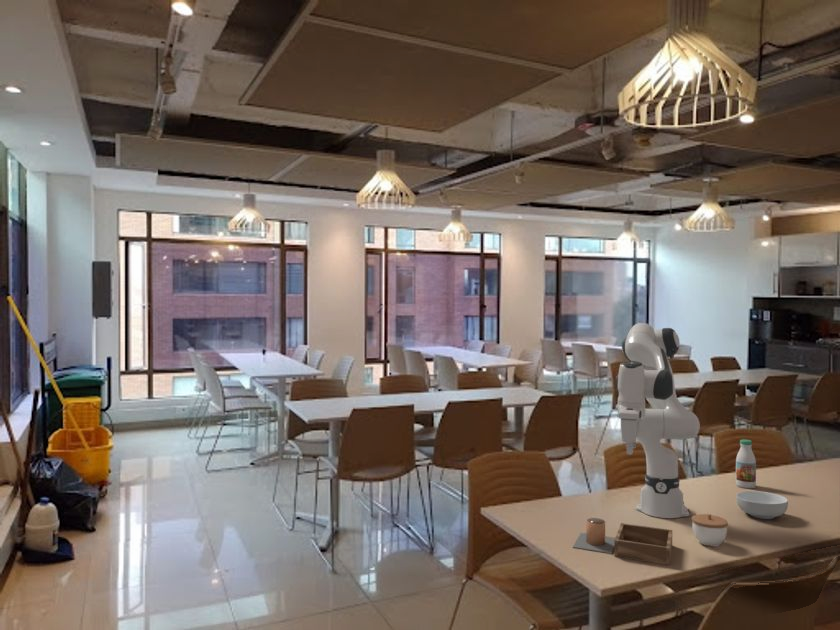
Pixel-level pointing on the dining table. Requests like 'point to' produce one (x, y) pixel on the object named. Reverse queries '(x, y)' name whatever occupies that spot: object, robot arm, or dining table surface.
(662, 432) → the robot arm
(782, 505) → the cereal bowl
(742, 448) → the milk bottle
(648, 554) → the wooden frame
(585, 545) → the slate mat
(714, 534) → the lidded jar
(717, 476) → the dining table surface
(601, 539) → the peach cylinder
